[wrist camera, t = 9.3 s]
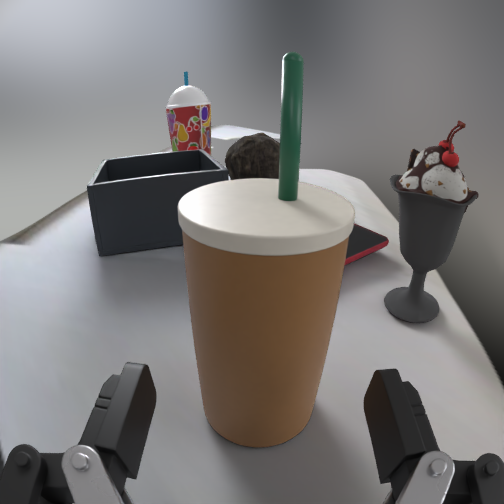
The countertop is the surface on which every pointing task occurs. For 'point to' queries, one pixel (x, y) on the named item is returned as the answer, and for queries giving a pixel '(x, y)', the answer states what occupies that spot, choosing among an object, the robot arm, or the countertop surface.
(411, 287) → the sundae
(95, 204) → the bin
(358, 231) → the smartphone
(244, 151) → the rock
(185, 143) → the smoothie
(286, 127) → the takeaway cup
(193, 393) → the countertop surface
